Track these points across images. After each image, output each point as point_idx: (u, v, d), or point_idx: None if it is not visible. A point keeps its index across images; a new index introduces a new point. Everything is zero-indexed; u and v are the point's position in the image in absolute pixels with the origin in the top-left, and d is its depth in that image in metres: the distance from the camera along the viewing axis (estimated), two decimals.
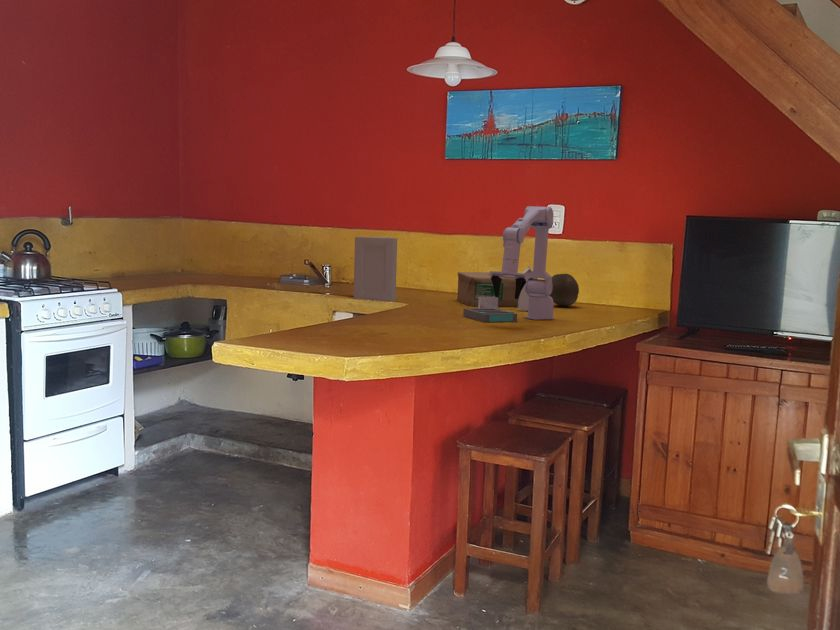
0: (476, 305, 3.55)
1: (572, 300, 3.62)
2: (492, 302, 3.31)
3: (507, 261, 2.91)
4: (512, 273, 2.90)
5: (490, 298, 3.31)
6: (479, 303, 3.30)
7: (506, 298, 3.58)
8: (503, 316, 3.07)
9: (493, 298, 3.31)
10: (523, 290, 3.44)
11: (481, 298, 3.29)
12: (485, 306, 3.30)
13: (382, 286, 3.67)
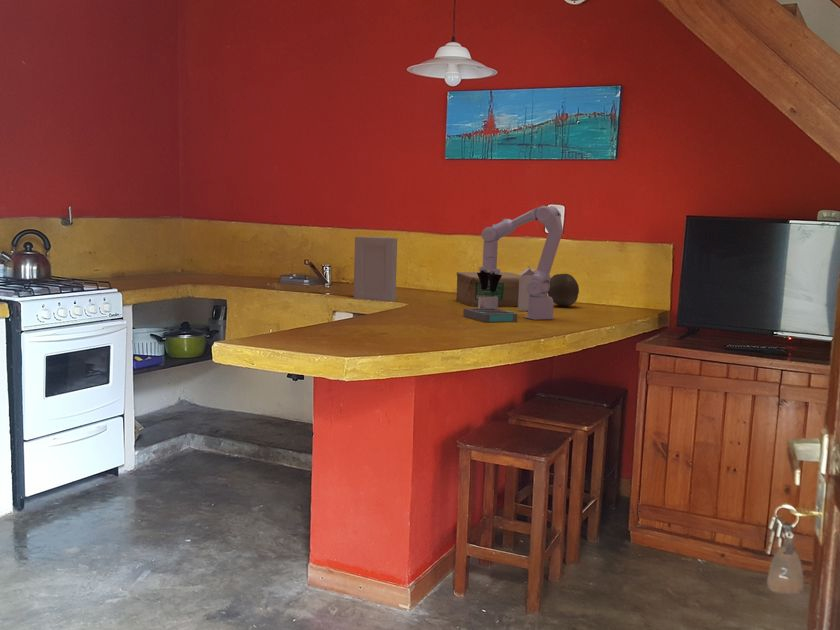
0: (477, 305, 3.55)
1: (572, 300, 3.62)
2: (492, 302, 3.31)
3: (483, 258, 3.28)
4: (486, 269, 3.27)
5: (490, 298, 3.31)
6: (479, 303, 3.30)
7: (506, 298, 3.58)
8: (503, 316, 3.07)
9: (493, 298, 3.31)
10: (523, 290, 3.44)
11: (481, 298, 3.29)
12: (485, 306, 3.30)
13: (382, 286, 3.67)
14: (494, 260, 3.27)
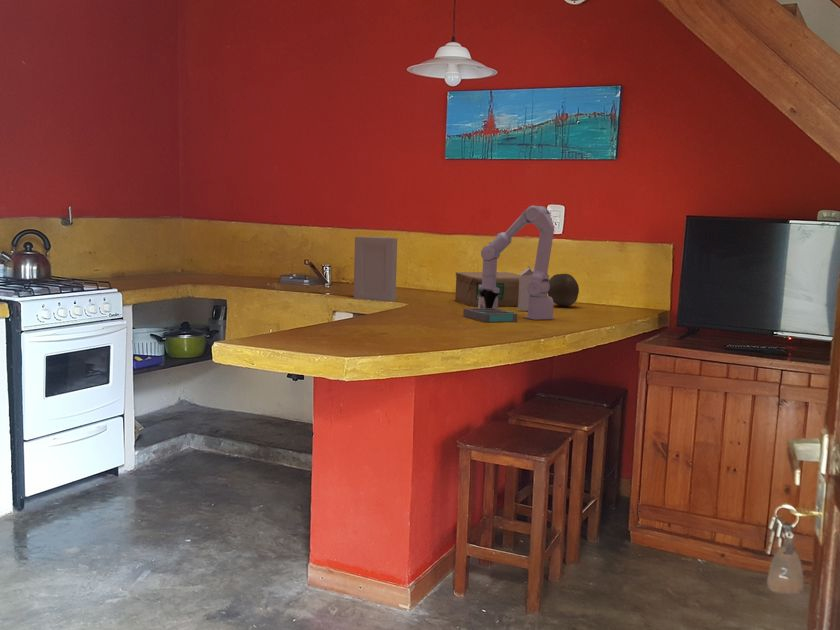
0: (477, 305, 3.55)
1: (572, 300, 3.62)
2: None
3: (483, 277, 3.29)
4: (485, 288, 3.28)
5: None
6: (479, 303, 3.30)
7: (506, 298, 3.58)
8: (503, 316, 3.07)
9: None
10: (523, 290, 3.44)
11: (481, 298, 3.29)
12: (485, 306, 3.30)
13: (382, 286, 3.67)
14: (493, 279, 3.28)
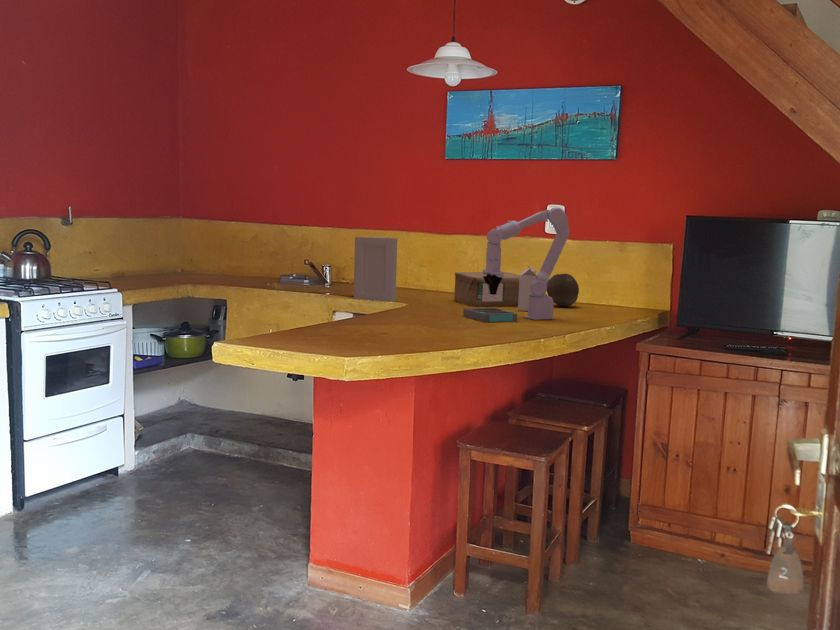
0: (478, 305, 3.55)
1: (572, 300, 3.62)
2: (497, 289, 3.22)
3: (486, 261, 3.20)
4: (489, 272, 3.18)
5: None
6: (483, 290, 3.21)
7: (507, 298, 3.59)
8: (503, 316, 3.07)
9: None
10: (523, 290, 3.44)
11: (485, 285, 3.20)
12: None
13: (382, 286, 3.67)
14: (497, 263, 3.18)
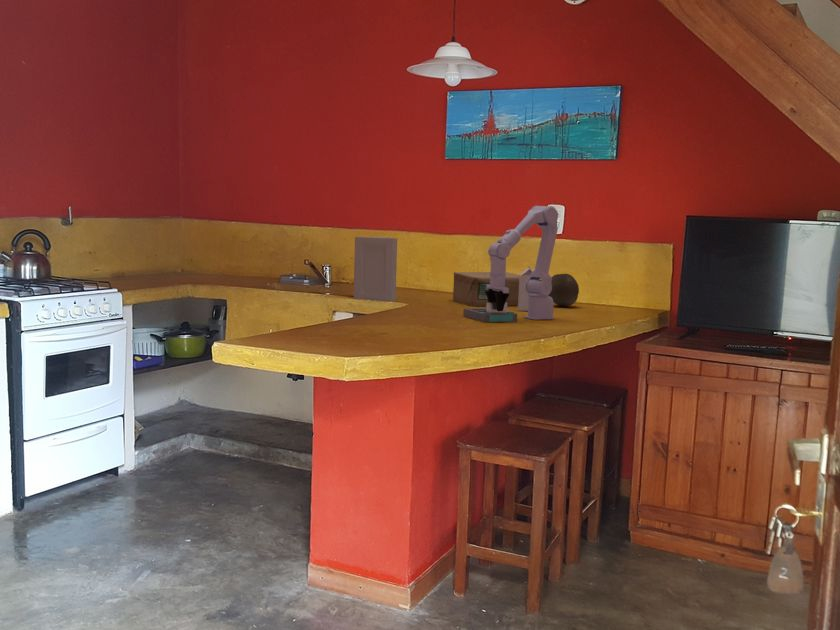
0: (479, 305, 3.55)
1: (572, 300, 3.62)
2: None
3: (491, 276, 3.08)
4: (494, 287, 3.06)
5: None
6: (487, 309, 3.09)
7: None
8: (503, 316, 3.07)
9: None
10: (523, 290, 3.44)
11: (489, 304, 3.08)
12: None
13: (382, 286, 3.67)
14: (502, 278, 3.07)
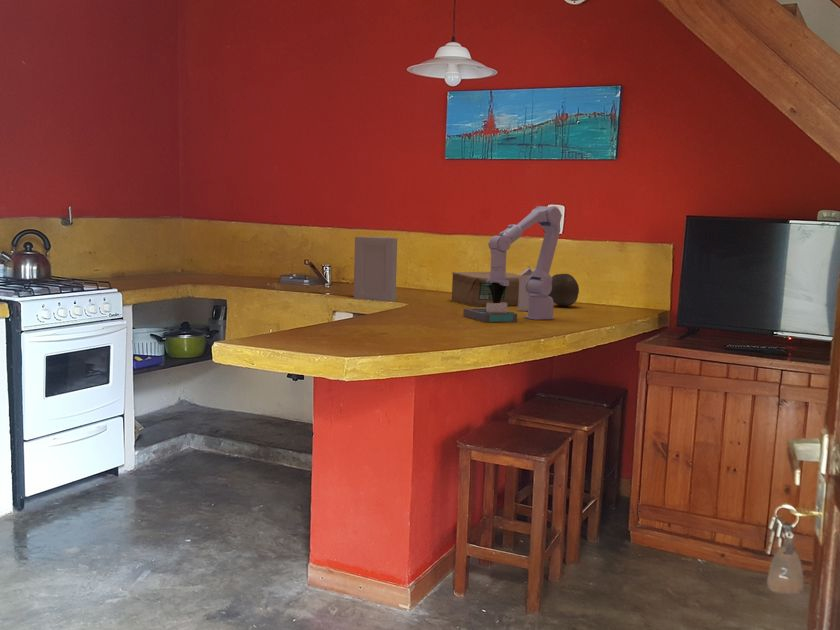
0: (480, 305, 3.55)
1: (572, 300, 3.62)
2: (501, 309, 3.10)
3: (491, 269, 3.07)
4: (494, 280, 3.06)
5: (499, 304, 3.10)
6: (487, 310, 3.09)
7: (507, 297, 3.60)
8: (503, 316, 3.07)
9: (502, 304, 3.10)
10: (523, 290, 3.44)
11: (489, 304, 3.08)
12: None
13: (382, 286, 3.67)
14: (502, 271, 3.06)
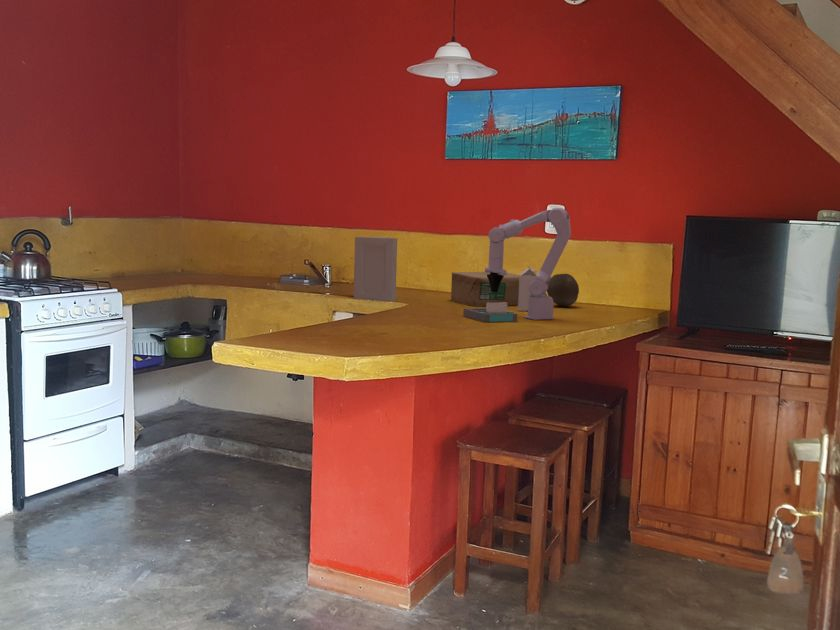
0: (481, 305, 3.55)
1: (572, 300, 3.62)
2: (501, 308, 3.10)
3: (489, 259, 3.23)
4: (492, 270, 3.22)
5: (499, 304, 3.10)
6: (487, 309, 3.09)
7: (507, 297, 3.61)
8: (503, 316, 3.07)
9: (502, 304, 3.10)
10: (523, 290, 3.44)
11: (489, 304, 3.08)
12: None
13: (382, 286, 3.67)
14: (500, 261, 3.22)
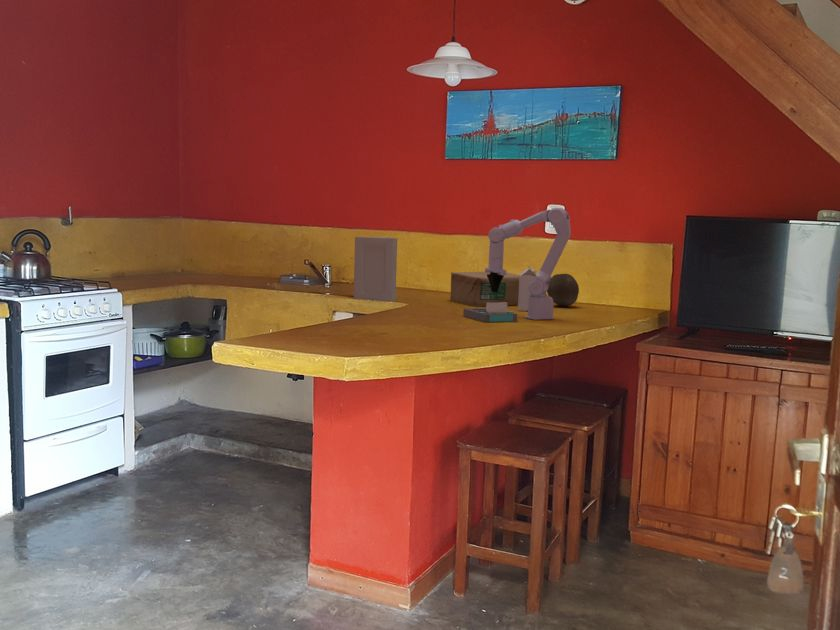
0: (481, 305, 3.55)
1: (572, 300, 3.62)
2: (501, 308, 3.10)
3: (489, 259, 3.24)
4: (492, 270, 3.22)
5: (499, 304, 3.10)
6: (487, 309, 3.09)
7: (508, 297, 3.61)
8: (503, 316, 3.07)
9: (502, 304, 3.10)
10: (523, 290, 3.44)
11: (489, 304, 3.08)
12: None
13: (382, 286, 3.67)
14: (500, 261, 3.22)
